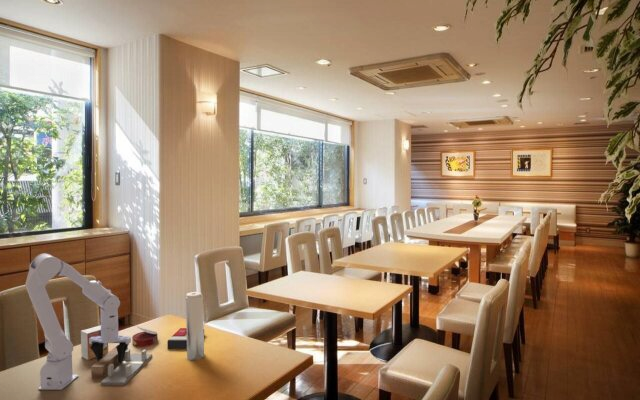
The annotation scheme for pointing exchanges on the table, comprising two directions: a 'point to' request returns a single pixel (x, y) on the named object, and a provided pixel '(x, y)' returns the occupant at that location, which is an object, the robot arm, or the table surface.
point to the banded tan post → (105, 364)
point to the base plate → (126, 368)
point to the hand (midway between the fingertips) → (110, 362)
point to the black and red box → (178, 340)
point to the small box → (85, 346)
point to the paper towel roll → (194, 326)
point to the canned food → (144, 338)
